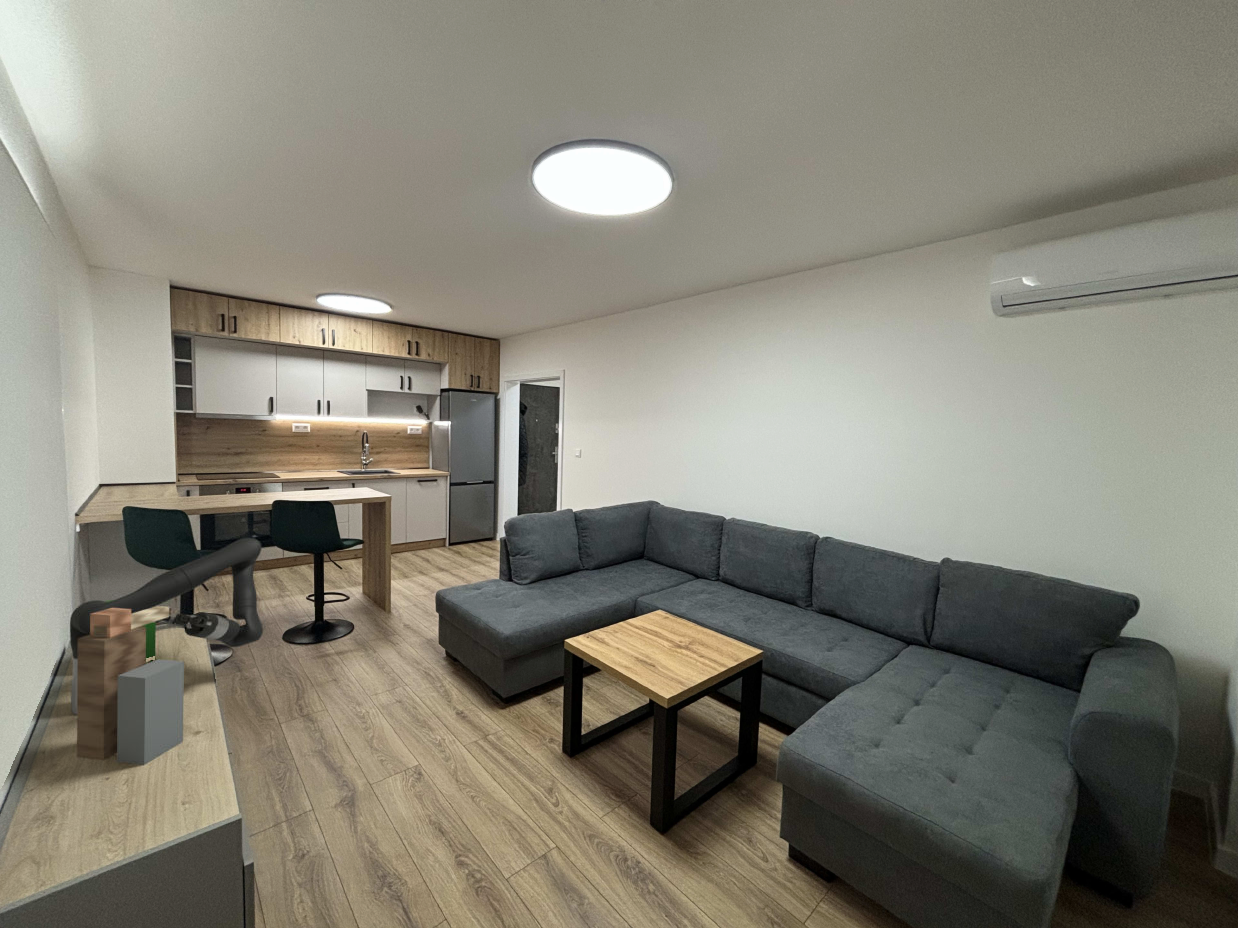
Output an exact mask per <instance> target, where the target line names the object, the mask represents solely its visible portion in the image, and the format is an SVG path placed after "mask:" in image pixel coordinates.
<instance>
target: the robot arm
mask: <svg viewBox="0 0 1238 928" xmlns="http://www.w3.org/2000/svg"><path fill="white" fill-rule="evenodd" d="M261 553H262V543H261V542H260V541H259V540H258V539H256V538H253V537H244V538H240V539H237V540H235V541H234V542H232V543H230V544H228V545H227V546H225V547H223V548H220V549H219V550H217V551H215V552H212V553H210V554H207V555H205V556H202V557H200V558H196V559H195V560H194V559H193V560H192V561H190V562H187V563H185V564H183V565H180V566H178V567H175V568H172V569H170V570H168V571H165V572H163V573H161V574H159V575H157V576H155V577H154V578H152V579H151V580H149V581H148V582H146V583H145V584H144V585H143V586H141V587H139V588H137V590H135V591H132V592H131V593H129V594H126V595H124V596H122V597H119V598H116V599H113V601H111V600H110V601H111V602H104V600H99V599H98V600H96V599H94V600H89V601H86V602H84V603H82V604H80V605H78V606H77V607H76V608H75V609H74V610H73V612H72V614H71V616H70V620H69V621H70V622H69V630H70V631H69V633H70V634H69V637H70V648H71V651H72V679H71V680H70V710H72V712H71V713H72V714H74V715H77V666H78V638H81V637H84V636H87V635H90V614H91V613H95V612H99V611H102V610H106V609H109V608H122V609H131V614H132V613H136V612H139V611H142V610H146V609H149V608H152V607H155V606H159V605H162V604H163V603H166V602H168V601H170V600H172V599H175V598H177V597H180V596H181V595H184V594H186V593H188V592H190V591H193V590H194V589H196V588H198V587H200V586H201V585H202V584H204V583H206V582H207V581H209V580H211V579H212V578H213V577H215V576H216V575H218V574H219V573H220V572H221V573H222V571H225V570H226V569H228V568H231V574H232V590H233V591H232V618H233V619H234V620H233V619H229V618H224V617H223V616H220V615H217V614H213V613H210V612H209V613H208V612H205V611H198V612H196V613H194V614H190V615H189V614H183V613H173V614H169V617H167V618H164V619H161V620H158V621H155V622H156V624H158V623H159V624H164V625H167V626H172V627H177V628H178V629H184V632H185V634H186V635H188V636H190V637H194V638H200V639H203V640H205V639H206V640H214V641H219V642H222V643H223V644H224V645H227V646H228V647H230V648H239V647H242V646H245V645H248V644H251V643H254V642H257V641H259V640H260V639H261V637H262V636H263V632H264V627H263V625H262V622H261V620H260V617H259V614H258V610H257V609H258V607H257V605H258V603H257V602H258V600H257V598H258V597H257V590H256V585H255V581H254V570H255V566H256V561H257V559H258V557H259V556H260V554H261ZM235 620H236V621H235ZM237 620H238V621H243V620H244V622H245V623H244V624H242V625H240V624H239V622H237Z"/></svg>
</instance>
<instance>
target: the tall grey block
mask: <svg viewBox="0 0 1238 928" xmlns="http://www.w3.org/2000/svg"><path fill="white" fill-rule="evenodd" d="M184 671H185V661H184V660H172V659H171V660H170V659H162V658H161V659H160V658H158V659H155V661H151V662H147V663H146V665H143V666H141V667H138V668H136V669H133V670H131V671H128V672H126V673H123V674H121V675H118V717H117V753H116V762H117V763H125V764H136V765H146V764H148V763H150V762H151V761H154V760H155V759H156V758H159V756H162V755H163V754H165V753H167V752H168V751H170V750H171V749H173V748H175V747H176V746H178V745H180V744H182V743H183V742H184V685H185V683H184V678H185V676H184V675H185V672H184Z"/></svg>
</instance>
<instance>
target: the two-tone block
mask: <svg viewBox="0 0 1238 928" xmlns="http://www.w3.org/2000/svg"><path fill="white" fill-rule="evenodd" d="M169 615H170V606H162V605H161V606H159V605H157V606H156V607H152V608H149V609H146V610H142V611H139V612H136V613H132V614H131V609H122V608H109V609H106V610H102V611H99V612H95V613H91V614H90V636H97V637H113V636H116V635H119V634H122V633H125V632H128V631H131V629H133V628H136V627H139V626H143V625H146V624H149V623H152V622H155V621H158V620H161V619H164V618H167V617H169Z"/></svg>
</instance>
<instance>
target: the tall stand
mask: <svg viewBox="0 0 1238 928" xmlns="http://www.w3.org/2000/svg"><path fill="white" fill-rule="evenodd" d="M146 664H147V662H146V627H141V626H139V627H136V628H133V629H131V631H128V632H125V633H122V634H119V635H116V636H113V637H97V636H90V635H87V636H84V637H81V638H78V666H77V714H76V758H78V759H79V758H80V759H81V758H82V759H88V760H89V759H90V760H98V761H105V760H107V759H108V758H111V757H112V756H114V755H117V717H118V675H121V674H123V673H126V672H128V671H131V670H133V669H136V668H138V667H141V666H143V665H146Z"/></svg>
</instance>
